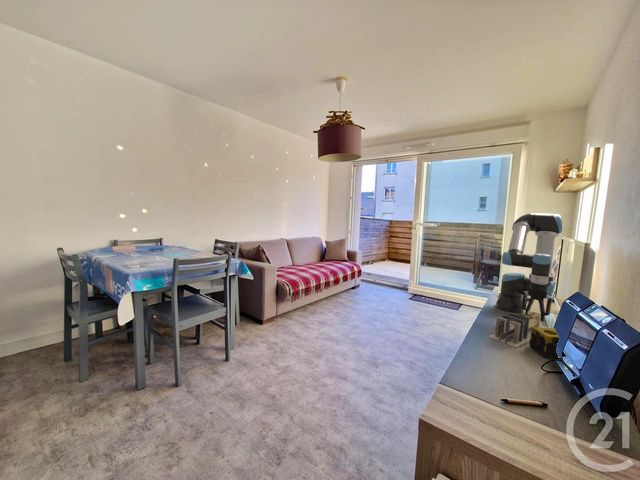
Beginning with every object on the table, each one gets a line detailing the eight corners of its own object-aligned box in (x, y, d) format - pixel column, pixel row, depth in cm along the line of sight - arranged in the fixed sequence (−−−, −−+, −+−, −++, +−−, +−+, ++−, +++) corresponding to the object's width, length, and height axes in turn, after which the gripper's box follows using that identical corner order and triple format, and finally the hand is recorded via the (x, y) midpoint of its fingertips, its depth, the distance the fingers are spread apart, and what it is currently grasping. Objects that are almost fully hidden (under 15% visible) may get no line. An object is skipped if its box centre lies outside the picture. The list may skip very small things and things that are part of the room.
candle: (551, 348, 126) (554, 327, 125) (569, 360, 116) (572, 337, 115) (528, 346, 127) (530, 326, 126) (543, 358, 117) (546, 335, 116)
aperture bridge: (497, 336, 137) (499, 316, 135) (518, 344, 129) (520, 323, 128) (494, 337, 135) (496, 317, 134) (515, 345, 128) (518, 324, 127)
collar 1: (499, 334, 139) (502, 313, 137) (521, 342, 131) (524, 320, 129) (498, 335, 138) (501, 314, 137) (520, 343, 130) (523, 321, 129)
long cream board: (524, 321, 157) (525, 316, 157) (550, 329, 147) (551, 324, 147) (489, 337, 135) (490, 331, 135) (517, 348, 125) (517, 341, 125)
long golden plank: (531, 319, 152) (532, 311, 152) (541, 322, 149) (542, 314, 148) (513, 327, 140) (514, 318, 140) (523, 330, 137) (525, 322, 136)
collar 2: (505, 332, 142) (507, 311, 141) (527, 340, 134) (529, 318, 133) (504, 332, 141) (507, 312, 140) (526, 340, 133) (528, 318, 132)
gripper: (517, 279, 152) (512, 320, 154) (556, 287, 137) (551, 332, 140) (522, 278, 156) (518, 318, 158) (562, 286, 141) (556, 329, 144)
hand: (533, 324), depth 149 cm, fingers closed on long golden plank, 4 cm apart
